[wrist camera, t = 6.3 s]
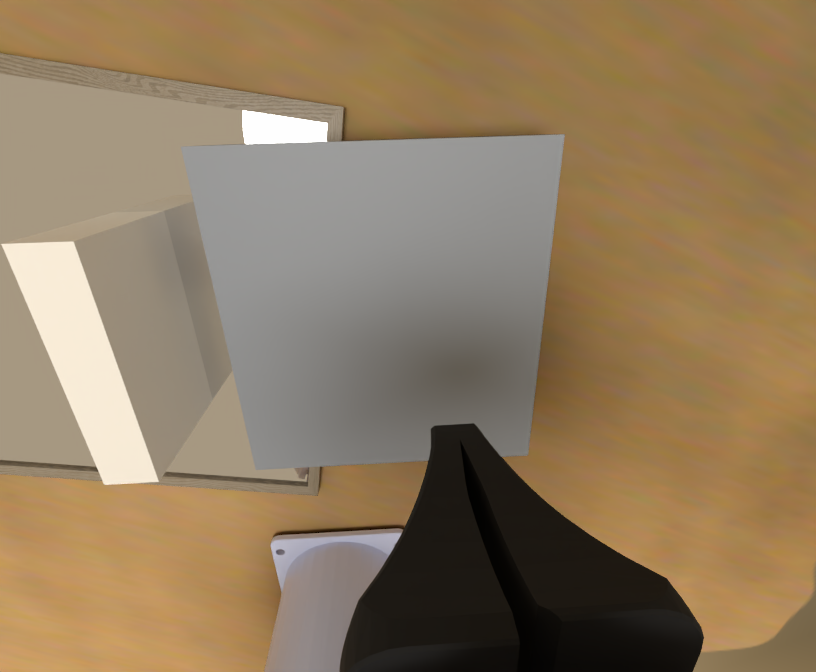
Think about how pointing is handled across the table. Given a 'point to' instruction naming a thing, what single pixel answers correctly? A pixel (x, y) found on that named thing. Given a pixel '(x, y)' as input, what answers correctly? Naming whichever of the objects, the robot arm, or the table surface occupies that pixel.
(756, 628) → the table surface
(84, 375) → the tile
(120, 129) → the picture frame
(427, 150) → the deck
